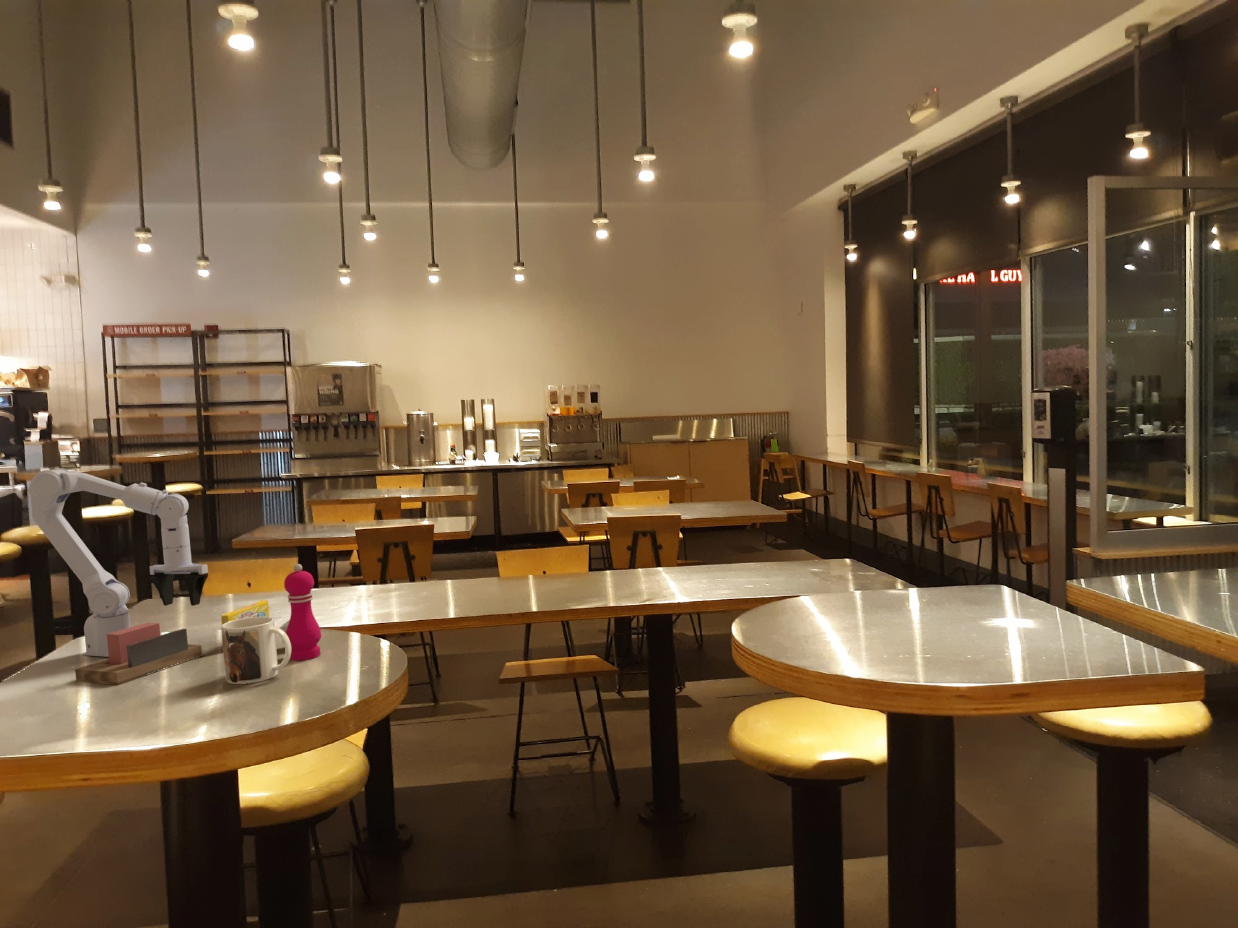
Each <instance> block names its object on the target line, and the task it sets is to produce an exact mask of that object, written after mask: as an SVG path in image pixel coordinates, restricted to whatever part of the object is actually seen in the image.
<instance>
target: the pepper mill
mask: <svg viewBox="0 0 1238 928" xmlns="http://www.w3.org/2000/svg"><path fill="white" fill-rule="evenodd" d="M284 578H285V579H284V582H283V586H284V590H285V591H286V592H287V593H288V595H287V598H288V601H287V602H288V603H289V604H290V618H289V620H290V621H289V620H288V621H289V624H288V627H287V630H286V634H287V636H288V638H289V640H290V643H291V656H290V659H289V660H291V661H306V660H308V661H309V660H312V659H315V658H318V657H320V656H321V646H320V645H318V643H319V641H321V639H322V631H321V628H320V626H319V625H320V624H319V623H318V622H317V620H316V618H315V615H314V613H313V608H312V600H313V599H314V598H313V592H312V590H313V588H314V585H315V580H314V578H313V575H312V574H311V573H310V572H308V571H305V570H303V566H302V564H300V563H296V564H294V565H293V571H292V572H291V573H289V574H287V576H286V577H284Z"/></svg>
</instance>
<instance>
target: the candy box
mask: <svg viewBox="0 0 1238 928" xmlns="http://www.w3.org/2000/svg"><path fill="white" fill-rule="evenodd" d="M269 609H270V608H269V600H260V601H257V602H254V603H251V604H248V605H246V606H243V607H241V608H238V609H237V608H236V609H235V610H232V611H230V612H227V613H224V614H221V626H222V625H223V624H224V623H227V622H230V621H233V620H237V619H243V618H250V617H270V610H269Z"/></svg>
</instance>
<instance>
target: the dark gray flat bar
mask: <svg viewBox="0 0 1238 928" xmlns="http://www.w3.org/2000/svg"><path fill="white" fill-rule="evenodd" d="M188 644H189V642H188V634H187V628H181V629H177V630H173V631H170V632H167V633H164V634H160V636H157V637H153V638H150V639H147V640H143V641H140V642H137V643H133V644H130V645H126V646H127V657H128V667H130V668H133V667H136V666H139V665H142V664H145V663H148V662H151V661H154V660H157V659H160V658H163V657H166V656H169V655H172V654H176V653H179V652H182V651H185V650H188Z"/></svg>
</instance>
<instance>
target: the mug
mask: <svg viewBox="0 0 1238 928" xmlns="http://www.w3.org/2000/svg"><path fill="white" fill-rule="evenodd" d="M220 631H221V642H222V653H223V663H224V664H223V665H224V675H225V681H227V682H226V683H228V684H233V685H247V683H248V684H255V683H259V682H260V683H261V682H263V681H266V680H270V679H273V678H274V677H276V676H278V674H279V670H280V669H282V668H283V667H285V666H287V664H288V663H289V661H290V660H291V659H290V656H291V649H292V648H291V643H290V640H289V638H288V636H287V634H286V633H285V632H284V631H283V630H282V629H280V627H277V626H275V620H274V618H273V617H270V616H269V617H250V618H243V619H237V620H233V621H230V622H227V623H224V624H223V625H222V624H221V626H220ZM276 635H277V636H278V637H279V638H280V639H281V641H282V640H283V642H284V643H283V642H282V643H283V645H284V657H283V660H282V661H281V663H279V662H278V653H277V650H278V649H277V642H276V641H277V640H276ZM278 663H279V664H278Z"/></svg>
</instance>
